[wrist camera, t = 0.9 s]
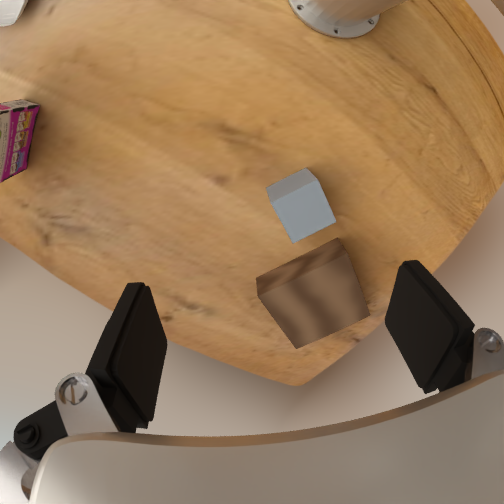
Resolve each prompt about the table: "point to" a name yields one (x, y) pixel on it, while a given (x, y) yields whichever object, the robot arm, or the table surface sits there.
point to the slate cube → (300, 204)
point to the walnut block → (313, 294)
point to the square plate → (11, 11)
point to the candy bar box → (16, 136)
